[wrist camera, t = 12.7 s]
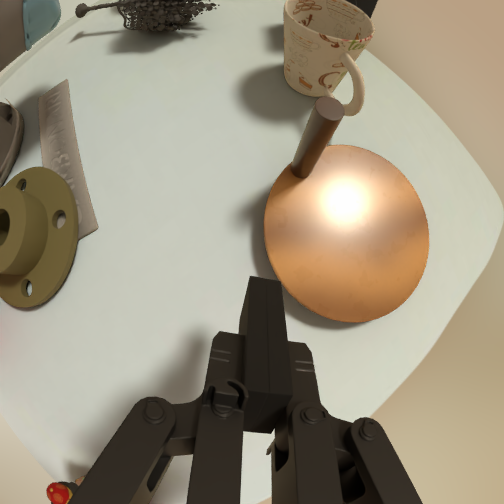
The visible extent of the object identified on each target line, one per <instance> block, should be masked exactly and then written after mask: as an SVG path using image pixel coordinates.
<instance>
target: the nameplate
mask: <svg viewBox="0 0 504 504" xmlns="http://www.w3.org/2000/svg"><path fill="white" fill-rule="evenodd" d="M38 106H39V130H40V143H41V153H42V162H43V167H45V168H48V169H51V170H53V171H54V172H56V173H57V174H59V175H60V176H61V177H62V178H63V179H64V180H65V181H66V182H67V183H68V185H69V186H70V188H71V190H72V192H73V195H74V198H75V201H76V205H77V211H78V239H77V241H78V240H80V239H82V238H83V237H85V236H87V235H88V234H90V233H92V232H93V231H95V230H97V229H98V224H97V221H96V218H95V214H94V211H93V207H92V204H91V200H90V196H89V193H88V189H87V185H86V181H85V177H84V173H83V168H82V164H81V159H80V155H79V150H78V145H77V139H76V134H75V128H74V122H73V116H72V109H71V102H70V94H69V85H68V80H67V79H66V80H64V81H63V82H61V83H60V84H58V85H57V86H55V87H54V88H52V89H51V90H49V91H48V92H46V93H45V94H44V95H42V96H41V97H39V99H38ZM65 220H66V214H65V212H63V213H61V214H60V215H59V216H58V219H57V227H58V228H61V227H62V226H63V225H64V223H65Z"/></svg>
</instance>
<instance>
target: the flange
mask: <svg viewBox="0 0 504 504" xmlns="http://www.w3.org/2000/svg"><path fill="white" fill-rule="evenodd" d="M24 182H26V188H25V190H24V191H22V190H21V187H22V185H23V183H24ZM63 212H65V214H66V220H65V223H64V225H63V226H62V227H61V228H58V227H57V219H58V216H59V215H60V214H61V213H63ZM77 239H78V211H77V205H76V201H75V198H74V195H73V192H72V190H71V188H70V186H69V185H68V183H67V182H66V181H65V180H64V179H63V178H62V177H61V176H60V175H59V174H57V173H56V172H54V171H53V170H51V169H48V168H45V167H32V168H29V169H26V170H24V171H22V172H20V173H19V174H17V175H16V176H14V177H13V178H12V179H11V180H10V181H9V182H8V183H7V184H6V185H5V186H3V187H1V188H0V297H1V298H2V299H3V300H4V301H5V302H7V303H8V304H10V305H13V306H16V307H34V306H37V305H40V304H42V303H44V302H45V301H47V300H48V299H49V298H51V297H52V296H53V295H54V294H55V293H56V291H57V290H58V289H59V288H60V286H61V285H62V283H63V281H64V280H65V278H66V276H67V274H68V272H69V269H70V267H71V264H72V261H73V258H74V254H75V250H76V245H77ZM29 280H30V282H31V284H32V293H31V295H30V296H28V294H27V292H26V284H27V282H28V281H29Z"/></svg>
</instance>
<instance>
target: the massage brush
mask: <svg viewBox="0 0 504 504" xmlns="http://www.w3.org/2000/svg"><path fill="white" fill-rule="evenodd" d="M194 1H195V2H199V1H207V0H126V1H125V0H123V1H122V2H121V0H119V1H118V2H115V3H111V4H110V3H108V4H100V5H98V6H92V7H87V5H86V4H84V3H82V4H79V5H78V6H77V8H76V11H75V13H76V16H77V17H78V18H81V17H83V16H85V14H86V13H87V12H88V11H90V10H97V9H101V8H108V7H114V6H117V9H118V12H119V13H120V14H121V15H122V16H123V18H124V27H125V28H127V29H130V28H131V27H133V29H131V30H138V31H139V30H145V31H148V30H159V31H161V30H171V31H174V30H177V29H179V30H180V27H179V28H177V26H179V25H181V26H182V24H183V23H185V24H186V22H189V21H191V20H190V18H192V17H193V16H192V14H193V15H194V17H196V16H197V15H198V14H199V13H200V11H203V9H202V8H205V7H207V10H208V11H210V10H212V6H216V4H214V3H211V4H204V3H203V2H199V3H192V2H194ZM209 1H210V0H209ZM165 2H166V3H165ZM181 2H182V3H181ZM186 2H188V3H186ZM197 4H198V5H197ZM122 6H123V8H124V7H125V8H126V9H125V10H121V11H124V13H125V12H126V13H127V12H129V11H131V12H129V13H128V14H125V16H126V15H129V16H132V17H131V18H127V16H126V17H125V16H124V14H123V13H122V12H121V11H120V7H122ZM193 6H194V7H193ZM218 6H220V5H218ZM130 7H132V8H131V10H130ZM136 7H137V8H136ZM182 7H183V8H182ZM182 9H183V11H184V12H183V11H182ZM197 9H198V11H199V12H198V11H197ZM213 9H214V8H213ZM215 9H217V8H215ZM191 10H192V11H191ZM207 10H206V11H207ZM134 11H136V12H134ZM132 12H134V13H132ZM138 12H139V13H138ZM182 14H187V15H182ZM201 14H203V13H201ZM133 15H135V16H133ZM167 15H168V18H167ZM180 15H181V16H180ZM136 16H137V17H136ZM183 17H184V18H183ZM126 18H127V19H128V20H129V19H131V20H132V21H130V20H129V21H130V22H131V24H130V26H131V27H126V21H127V19H126ZM136 19H137V20H136ZM141 19H142V20H141ZM134 20H136V22H137V23H136V22H135V21H134ZM192 20H193V18H192ZM130 22H128V23H130ZM152 22H153V25H152V24H151V23H152ZM157 22H160V23H161V25H160V26H157V25H158V23H157ZM135 23H136V24H135ZM140 23H143V24H140ZM148 23H149V25H148V26H147V24H148ZM173 23H177V24H178V25H174V24H173ZM165 24H167V25H165ZM135 25H136V26H137V27H134V26H135ZM140 25H141V27H140ZM173 25H174V26H173ZM127 26H129V24H128V25H127ZM166 26H167V27H166ZM134 28H135V29H134ZM140 28H141V29H140Z"/></svg>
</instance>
